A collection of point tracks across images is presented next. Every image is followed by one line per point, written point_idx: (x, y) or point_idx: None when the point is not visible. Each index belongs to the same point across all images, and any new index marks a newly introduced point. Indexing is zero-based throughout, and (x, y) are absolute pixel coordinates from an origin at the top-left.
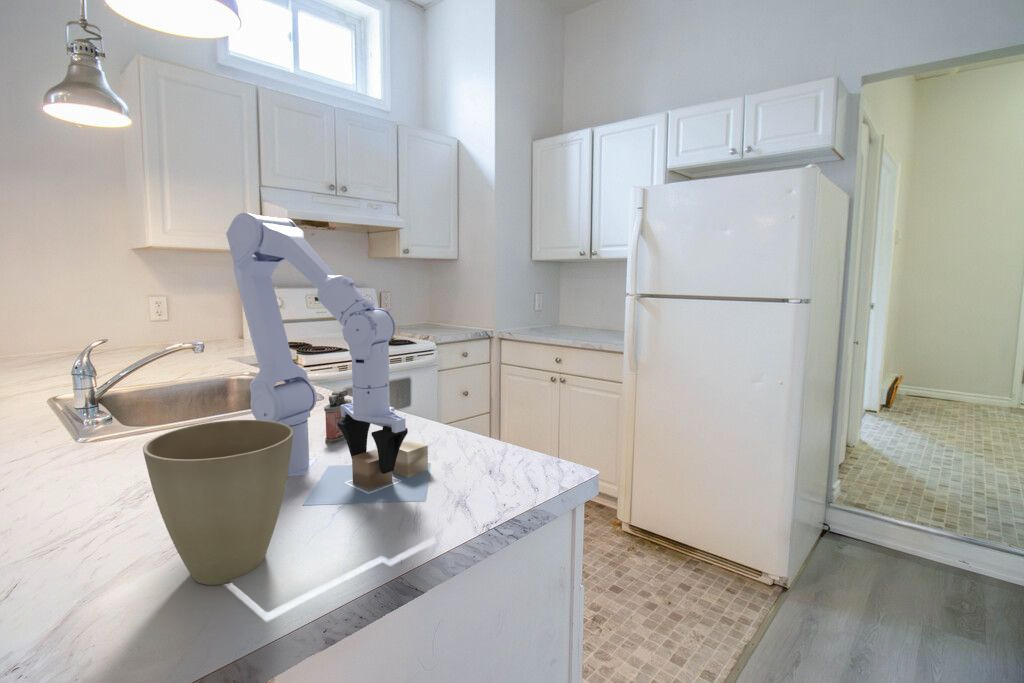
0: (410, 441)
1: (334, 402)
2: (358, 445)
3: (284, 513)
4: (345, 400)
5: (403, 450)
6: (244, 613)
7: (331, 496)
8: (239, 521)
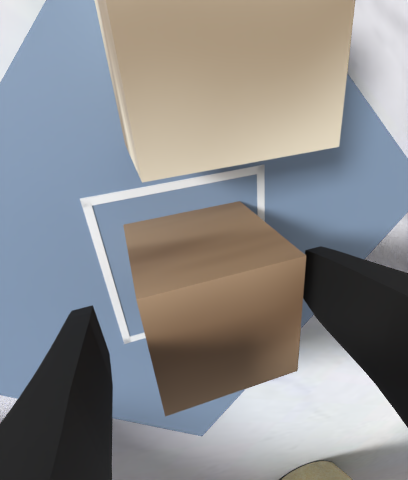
0: None
1: None
2: (98, 416)
3: (191, 451)
4: None
5: (296, 152)
6: (388, 460)
7: None
8: None
